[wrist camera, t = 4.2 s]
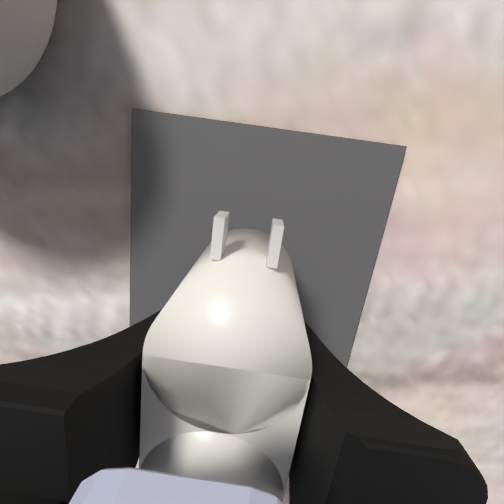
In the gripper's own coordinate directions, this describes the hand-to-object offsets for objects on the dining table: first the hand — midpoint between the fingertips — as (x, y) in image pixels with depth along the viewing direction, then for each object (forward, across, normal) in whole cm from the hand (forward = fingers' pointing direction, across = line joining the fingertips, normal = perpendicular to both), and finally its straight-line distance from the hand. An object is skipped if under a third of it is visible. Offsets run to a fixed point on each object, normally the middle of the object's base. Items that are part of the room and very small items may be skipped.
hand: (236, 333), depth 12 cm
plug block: (+1, 0, 0) cm, 1 cm away
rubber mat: (+4, 0, 0) cm, 4 cm away
